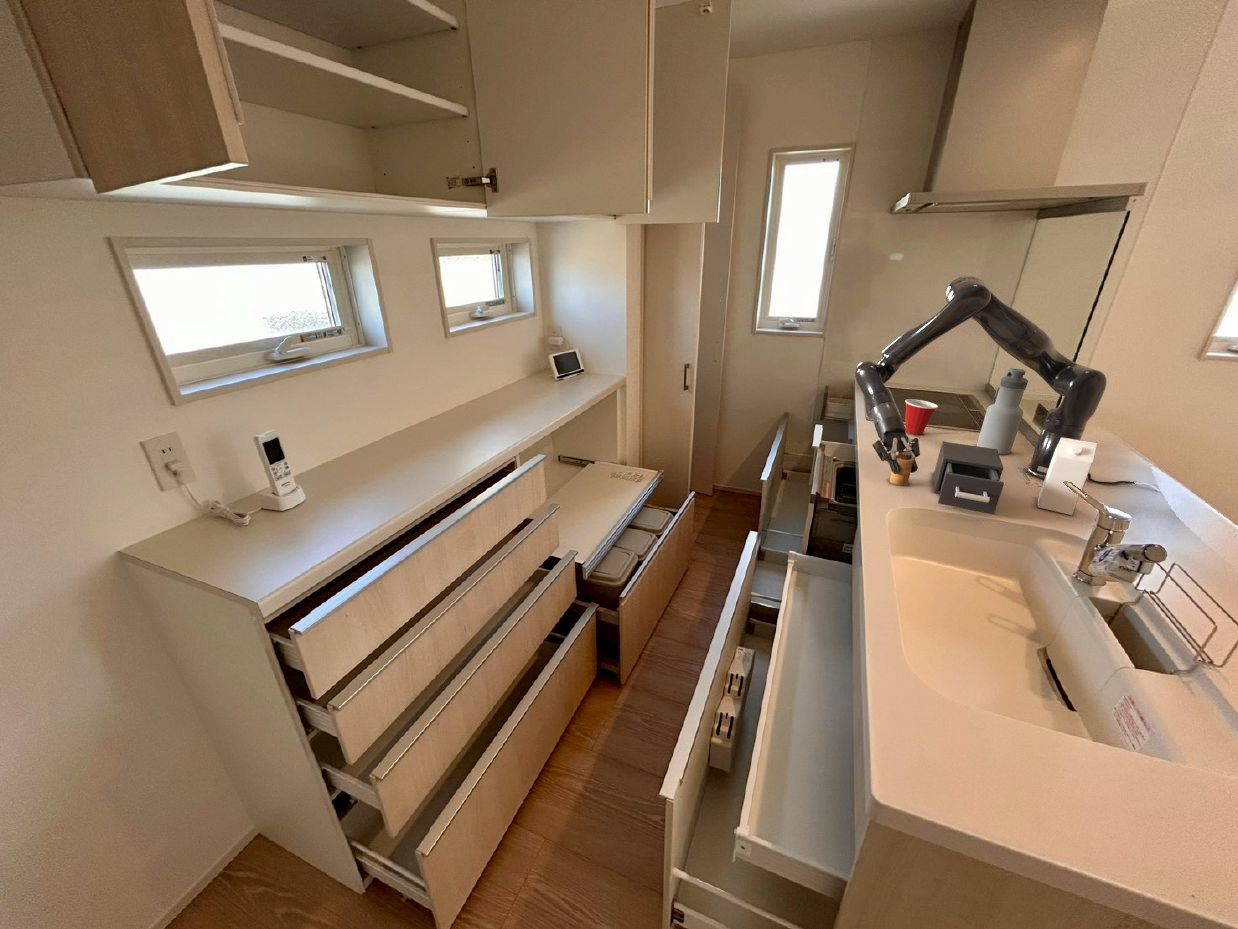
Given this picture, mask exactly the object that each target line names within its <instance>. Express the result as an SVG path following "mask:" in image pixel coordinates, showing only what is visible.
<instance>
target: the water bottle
mask: <svg viewBox="0 0 1238 929" xmlns="http://www.w3.org/2000/svg"><path fill="white" fill-rule="evenodd" d="M1026 372H1027V371H1026V370H1025V369H1024V368H1013V367H1011V368H1008V370H1007V372H1006V374H1005V376H1003V377H1001V380H1000V383H999V386H998V387H997V388H996V391H995V395H994V400H995V402H994V403H992V404H990V405H989V406H987V409H986V412H985V416H984V419H983V421H982V426H981V428H980V432H979V436H978V439H977V443H976V446H978V447H985V448H991V449H997V450H998V453H999V455H1007V454H1010V453H1011V452H1012V449H1013V447H1014V444H1015V440H1016V438H1017V434H1018V431H1019V427H1020V424H1021V421H1022V419H1023V415H1024V410H1023V409H1022V408H1021V407H1020V404H1021V402H1022V399H1023V397H1024V392H1025V390H1027V387H1028V383H1029V380H1028V378H1026V377H1024V376H1025V375H1026Z"/></svg>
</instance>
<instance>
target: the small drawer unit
mask: <svg viewBox="0 0 1238 929" xmlns="http://www.w3.org/2000/svg"><path fill="white" fill-rule="evenodd" d="M1000 456H1001V455H1000V454H999V453H998V450H997V449H991V448H985V447H978V446H977V445H970V444H963V443H957V442H949V441H942V442H941V446H940V449H939V453H938V458H937V460H936V465H935V468H934V472H933V489H934V490H933V491H934V492H933V493H935V494H939V495H940V492H941V485H940V483H941V479H942V475H943V472H944V468H945V464H946V462H953V463H959V464H965V465H971V466H978V467H984V468H990V469H996V471H997V474H998V478H999V481H1001V477H1002V475H1003V470H1004V465H1003V462H1002V459H1001V457H1000Z"/></svg>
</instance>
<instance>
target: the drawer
mask: <svg viewBox="0 0 1238 929" xmlns="http://www.w3.org/2000/svg"><path fill="white" fill-rule="evenodd" d="M940 485H941V492H940V494H939V496H938V500H937V504H939V505H945V506H948V507H955V508H958V509H959V508H960V509H966V510H969V511H975V512H981V513H985V514H990V515H995V513H996V509H997V506H998V503H999V500H1000V497H1001V494H1002V492H1003V487H1004V485H1005V483H1004V481H1002V480H1000V481H999V478H998V474H997V471H996V469H990V468H984V467H978V466H971V465H965V464H959V463H953V462H946V464H945V468H944V472H943V475H942V479H941V483H940Z"/></svg>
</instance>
